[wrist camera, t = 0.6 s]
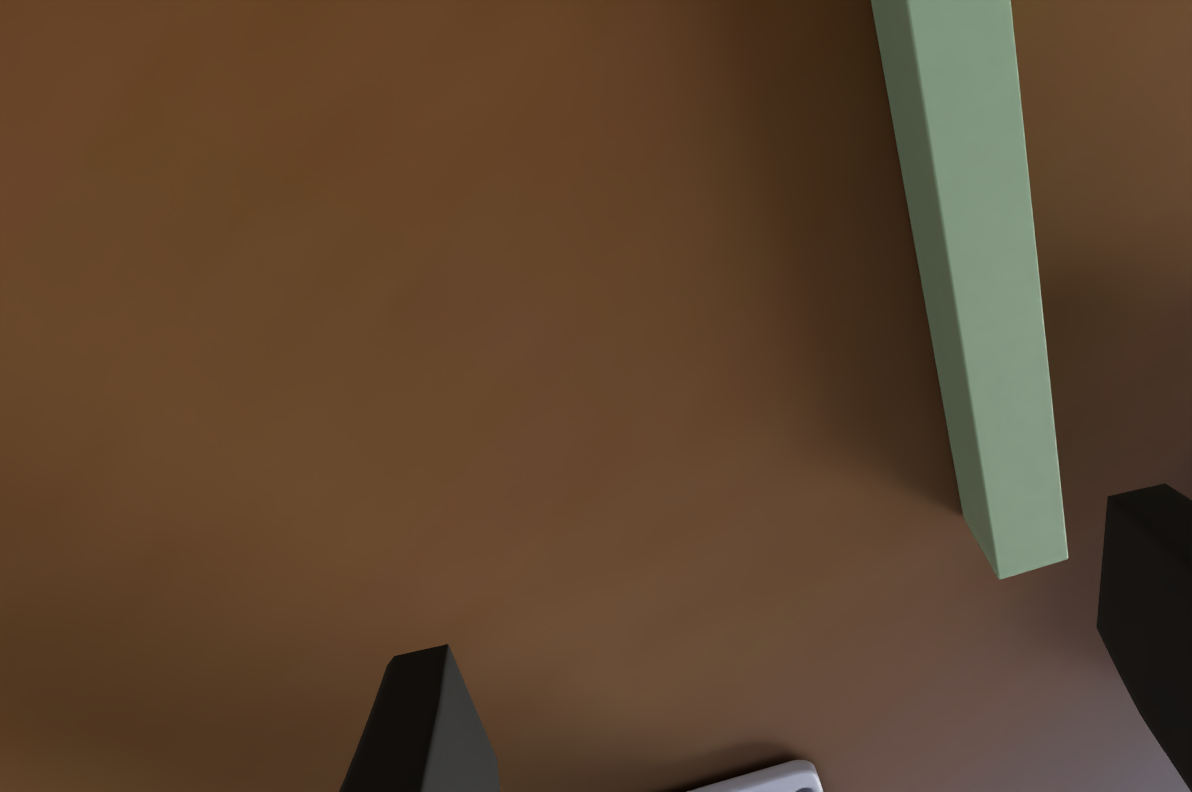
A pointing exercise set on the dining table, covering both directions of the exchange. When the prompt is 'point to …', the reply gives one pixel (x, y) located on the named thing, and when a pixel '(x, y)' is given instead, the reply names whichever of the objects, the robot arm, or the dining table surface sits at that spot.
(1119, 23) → the dining table surface
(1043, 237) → the dining table surface
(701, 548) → the dining table surface
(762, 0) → the dining table surface
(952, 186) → the frame
